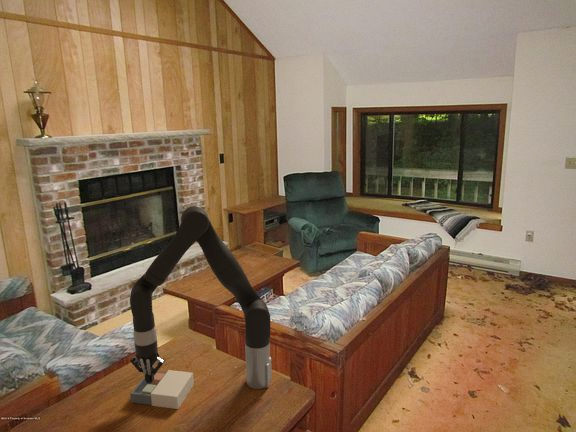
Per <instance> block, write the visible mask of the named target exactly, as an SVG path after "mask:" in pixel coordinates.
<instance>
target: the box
mask: <svg viewBox="0 0 576 432" xmlns="http://www.w3.org/2000/svg"><path fill="white" fill-rule="evenodd" d="M167 372H168V371H161V370H158V371H157V372H156V373H165V374H166V373H167ZM156 373H155V374H156ZM155 374H154V375H155ZM147 384H150V383H147V382H146V381H145V375H144V376H143V378H142V379H140V381H139V382H138V383H137V385H136V386H135V387H134V388H133V389H132V391H131V392H130V402H131V404H136V405H137V404H138V405H144V406H152V401H151V394H143V393H142V390H143V389H144V388H145V387H146V385H147ZM151 385H152V383H151Z"/></svg>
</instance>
